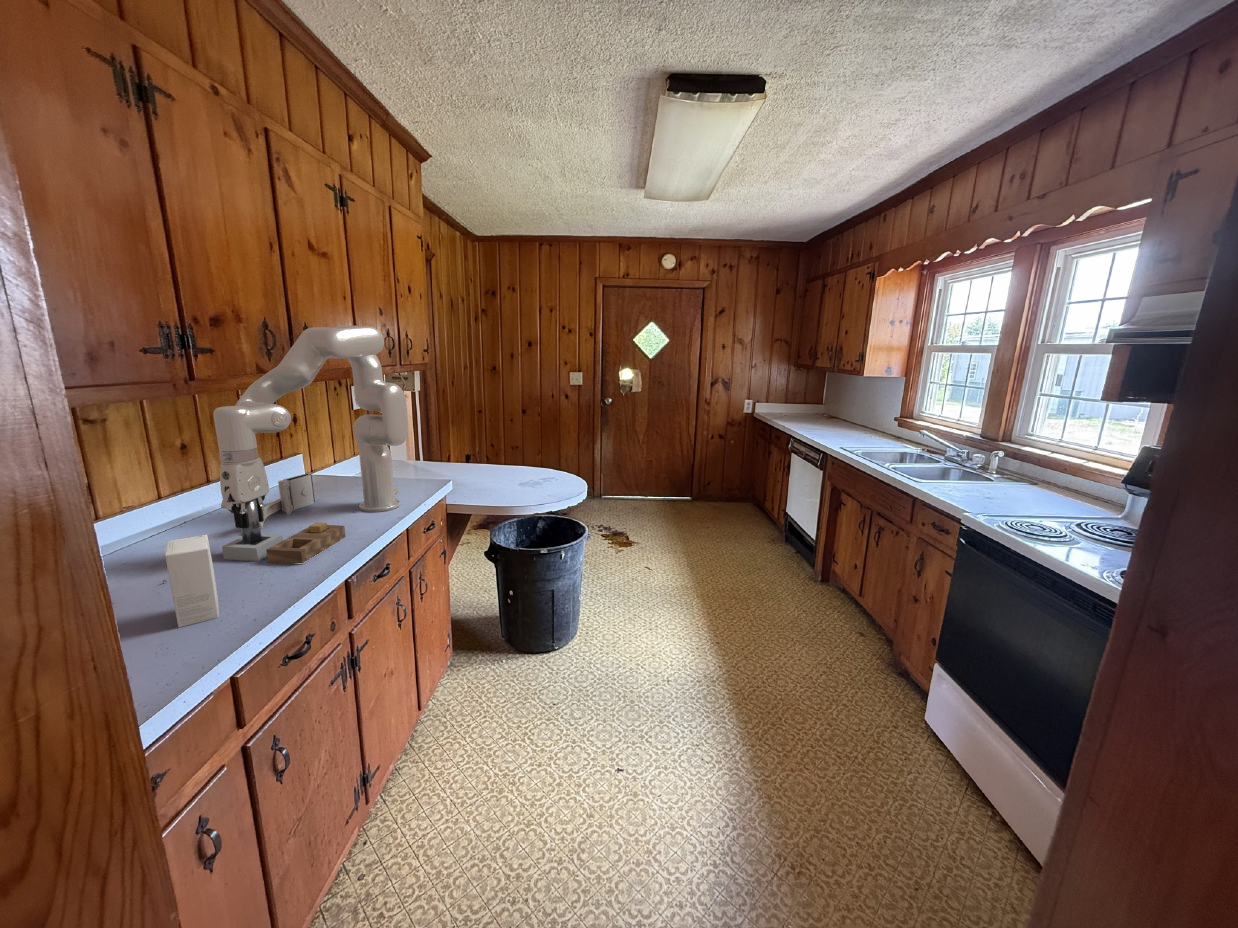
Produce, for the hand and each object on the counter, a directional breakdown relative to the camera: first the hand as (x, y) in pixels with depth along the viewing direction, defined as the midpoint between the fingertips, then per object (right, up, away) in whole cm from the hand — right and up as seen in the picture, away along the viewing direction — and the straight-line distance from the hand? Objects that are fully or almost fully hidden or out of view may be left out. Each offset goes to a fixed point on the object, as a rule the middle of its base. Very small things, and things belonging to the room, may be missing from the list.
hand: (250, 523), depth 125 cm
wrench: (-14, -2, +27) cm, 30 cm away
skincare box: (+10, -15, -27) cm, 32 cm away
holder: (0, -8, +2) cm, 8 cm away
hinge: (-12, +1, +37) cm, 39 cm away
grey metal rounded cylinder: (0, -5, +1) cm, 5 cm away
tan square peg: (+12, -6, +10) cm, 17 cm away
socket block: (+12, -7, +5) cm, 15 cm away
